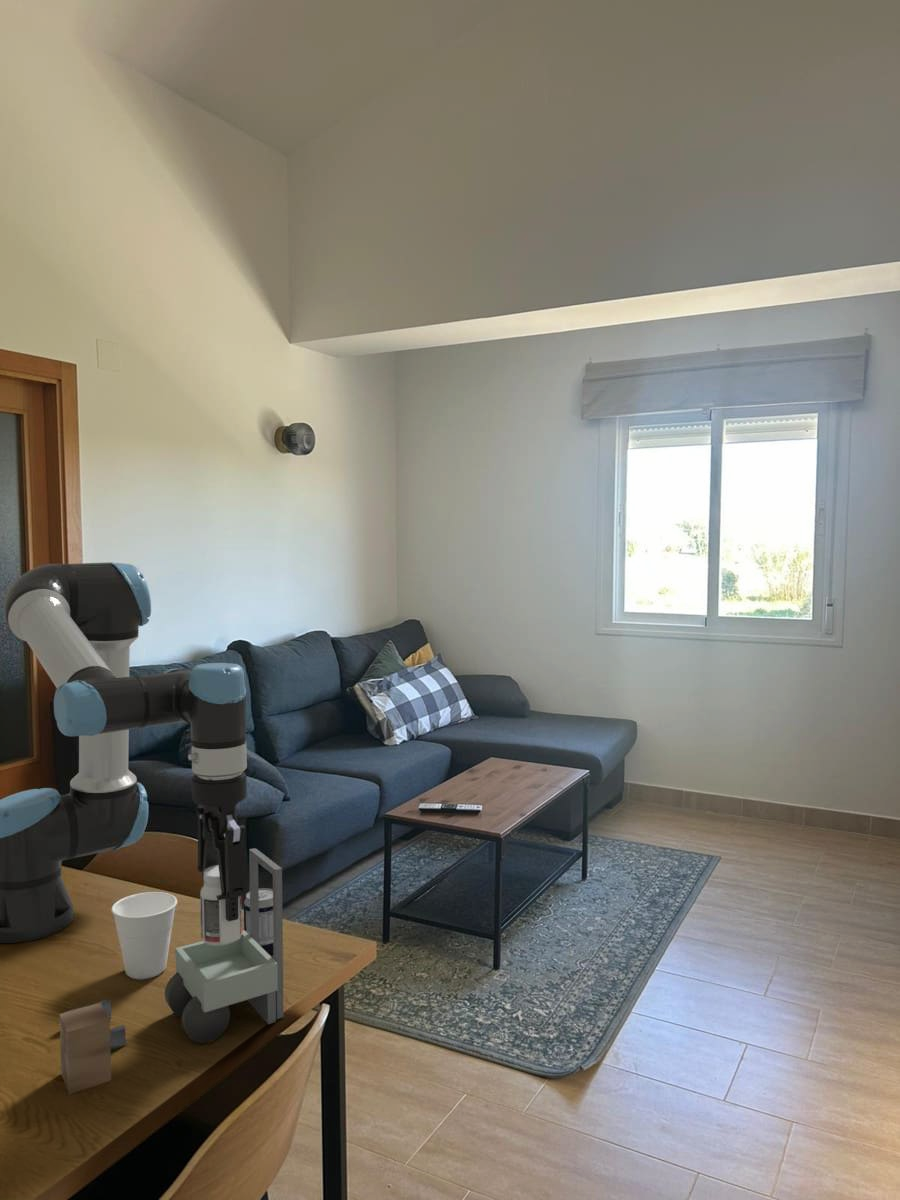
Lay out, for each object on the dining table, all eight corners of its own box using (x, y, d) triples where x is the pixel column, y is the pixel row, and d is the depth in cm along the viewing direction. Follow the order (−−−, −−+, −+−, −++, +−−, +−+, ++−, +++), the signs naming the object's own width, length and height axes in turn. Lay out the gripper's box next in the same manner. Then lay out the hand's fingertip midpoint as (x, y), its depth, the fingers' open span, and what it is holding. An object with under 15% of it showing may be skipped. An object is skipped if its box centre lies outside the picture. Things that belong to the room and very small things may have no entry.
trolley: (162, 1011, 128) (159, 864, 127) (254, 984, 136) (252, 845, 134) (190, 1053, 118) (187, 893, 116) (287, 1021, 125) (285, 871, 124)
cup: (158, 989, 134) (156, 920, 133) (99, 983, 136) (98, 914, 135) (189, 959, 144) (188, 894, 143) (135, 953, 146) (133, 889, 145)
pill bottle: (250, 937, 126) (249, 869, 125) (216, 951, 122) (214, 881, 121) (226, 925, 130) (225, 860, 129) (193, 938, 125) (191, 870, 125)
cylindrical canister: (287, 965, 142) (286, 893, 141) (259, 978, 138) (258, 904, 137) (265, 954, 146) (264, 884, 145) (237, 967, 141) (236, 895, 140)
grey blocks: (65, 1027, 124) (64, 1011, 123) (109, 1015, 127) (109, 999, 127) (78, 1059, 116) (78, 1042, 116) (125, 1045, 119) (125, 1028, 119)
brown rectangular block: (61, 1074, 113) (59, 1014, 113) (102, 1061, 116) (100, 1002, 115) (69, 1094, 109) (67, 1032, 108) (111, 1080, 112) (109, 1019, 111)
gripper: (172, 763, 130) (176, 915, 131) (215, 792, 114) (218, 965, 116) (222, 756, 134) (224, 904, 136) (270, 783, 119) (272, 950, 120)
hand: (222, 931), depth 126 cm, fingers closed on pill bottle, 6 cm apart
